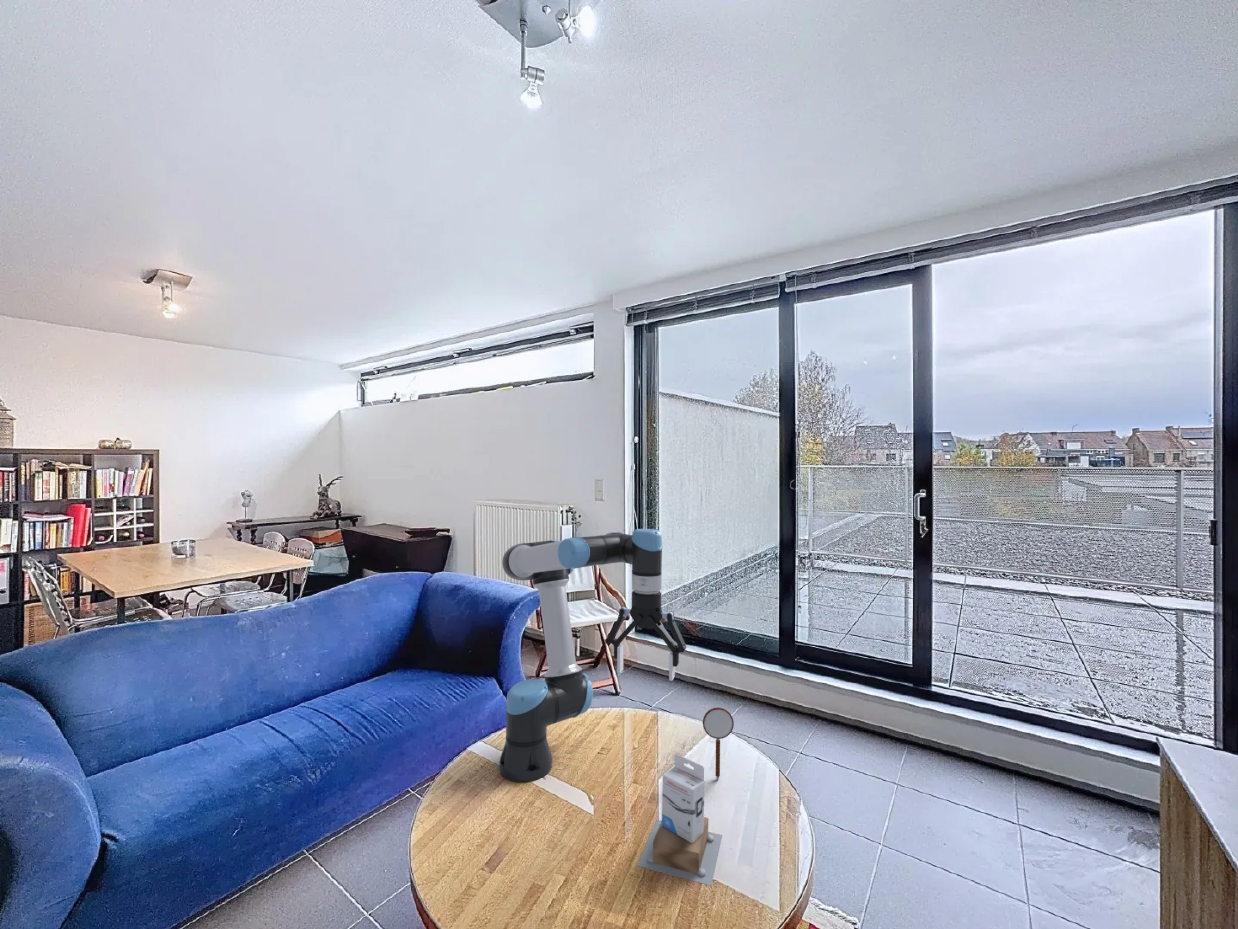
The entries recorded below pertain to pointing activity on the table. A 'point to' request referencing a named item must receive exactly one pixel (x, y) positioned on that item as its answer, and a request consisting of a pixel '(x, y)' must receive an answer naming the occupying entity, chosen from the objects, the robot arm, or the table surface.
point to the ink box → (684, 799)
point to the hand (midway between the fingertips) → (645, 675)
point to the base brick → (679, 850)
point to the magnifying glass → (718, 729)
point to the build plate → (703, 875)
